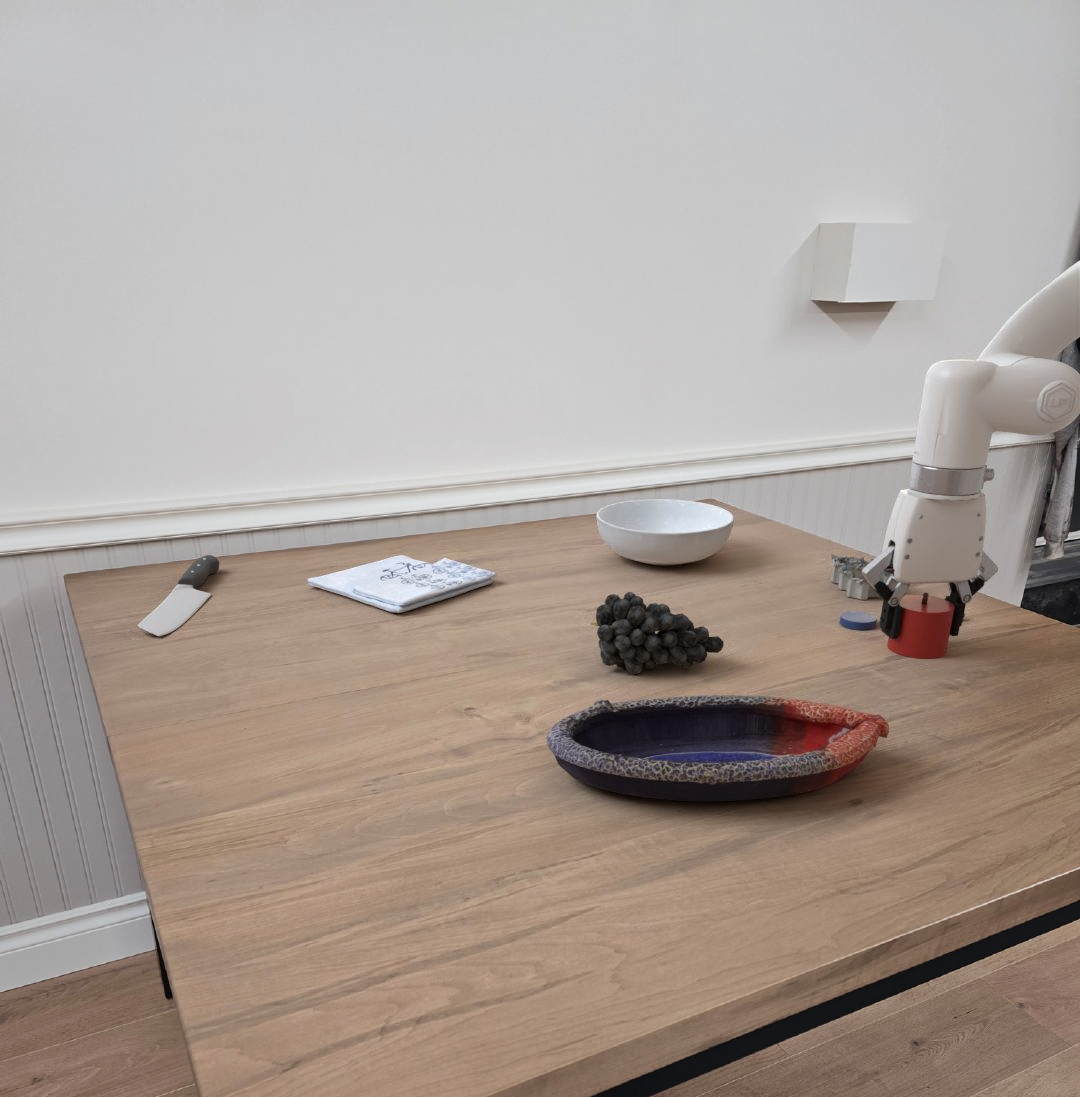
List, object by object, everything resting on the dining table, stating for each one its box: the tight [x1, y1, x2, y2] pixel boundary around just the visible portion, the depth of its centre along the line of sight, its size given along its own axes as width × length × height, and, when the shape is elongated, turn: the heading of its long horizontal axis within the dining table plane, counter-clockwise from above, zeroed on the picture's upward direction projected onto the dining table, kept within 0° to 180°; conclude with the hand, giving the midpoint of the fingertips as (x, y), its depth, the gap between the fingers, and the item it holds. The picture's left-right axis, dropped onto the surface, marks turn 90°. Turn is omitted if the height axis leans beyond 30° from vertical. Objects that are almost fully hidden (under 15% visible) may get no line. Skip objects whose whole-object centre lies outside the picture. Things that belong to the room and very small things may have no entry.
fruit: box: [590, 591, 725, 675], centre depth 108 cm, size 9×8×15 cm
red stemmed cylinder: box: [886, 592, 955, 660], centre depth 113 cm, size 7×7×7 cm
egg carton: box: [830, 554, 891, 601], centre depth 135 cm, size 11×8×4 cm
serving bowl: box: [595, 498, 735, 567], centre depth 149 cm, size 21×21×7 cm
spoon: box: [839, 610, 966, 631], centre depth 122 cm, size 16×4×1 cm, turn 96°
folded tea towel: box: [307, 554, 498, 614], centre depth 138 cm, size 19×20×2 cm
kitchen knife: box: [137, 554, 220, 637], centre depth 132 cm, size 29×3×5 cm
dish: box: [546, 694, 890, 802], centre depth 86 cm, size 16×31×5 cm, turn 92°
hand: (919, 632), depth 114 cm, fingers closed on red stemmed cylinder, 6 cm apart
